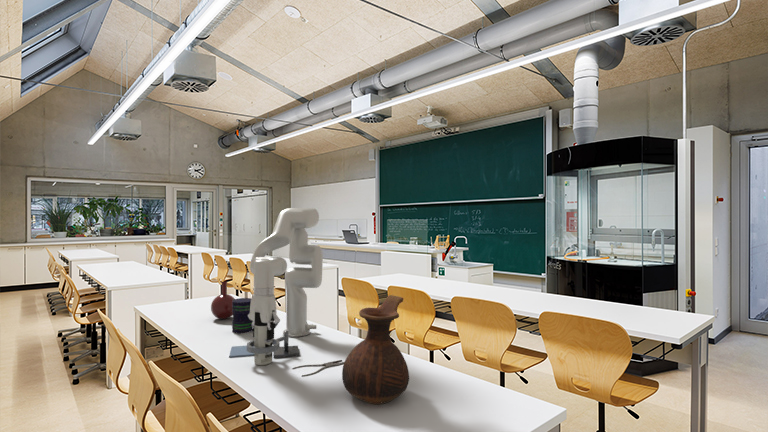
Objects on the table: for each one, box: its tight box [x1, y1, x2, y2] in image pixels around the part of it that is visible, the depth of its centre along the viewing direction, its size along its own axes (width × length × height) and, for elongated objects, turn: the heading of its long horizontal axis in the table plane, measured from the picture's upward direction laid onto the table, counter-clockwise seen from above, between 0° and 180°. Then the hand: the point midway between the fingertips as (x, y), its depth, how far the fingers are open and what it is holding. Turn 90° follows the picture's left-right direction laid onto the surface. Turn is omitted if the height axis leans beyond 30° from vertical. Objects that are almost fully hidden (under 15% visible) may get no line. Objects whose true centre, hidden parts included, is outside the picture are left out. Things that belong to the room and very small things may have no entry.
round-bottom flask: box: [210, 280, 235, 320], centre depth 224 cm, size 13×13×20 cm
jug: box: [341, 294, 410, 405], centre depth 132 cm, size 22×22×30 cm
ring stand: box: [246, 330, 300, 359], centre depth 164 cm, size 20×20×9 cm
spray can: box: [253, 312, 273, 366], centre depth 159 cm, size 7×7×20 cm
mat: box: [228, 345, 254, 358], centre depth 172 cm, size 12×12×1 cm
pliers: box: [292, 359, 345, 377], centre depth 156 cm, size 10×1×20 cm
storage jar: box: [231, 297, 253, 334], centre depth 202 cm, size 10×10×15 cm
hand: (263, 337), depth 159 cm, fingers closed on spray can, 6 cm apart
